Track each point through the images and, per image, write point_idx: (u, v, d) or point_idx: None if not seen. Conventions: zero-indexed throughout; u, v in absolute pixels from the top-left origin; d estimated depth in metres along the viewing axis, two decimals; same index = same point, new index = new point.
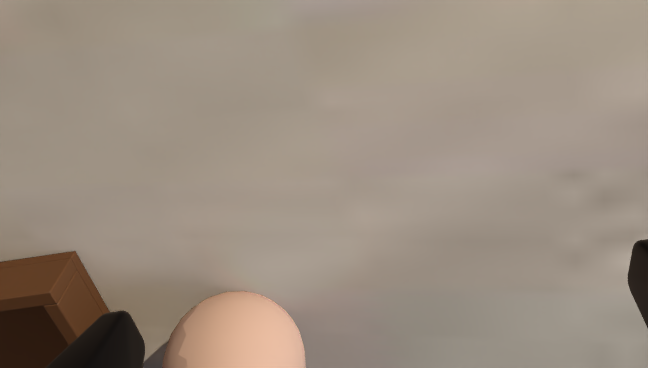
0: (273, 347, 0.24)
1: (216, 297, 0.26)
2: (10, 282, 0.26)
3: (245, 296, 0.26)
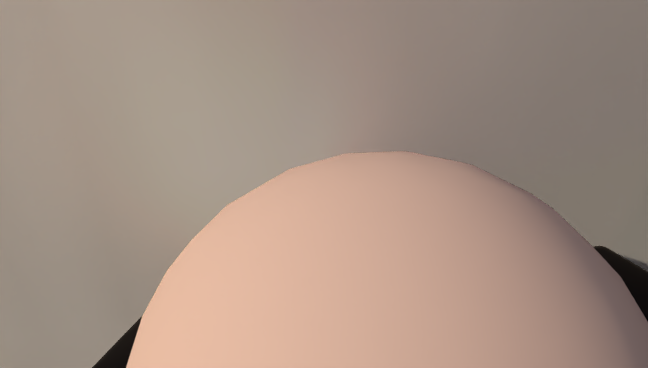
0: None
1: None
2: None
3: None
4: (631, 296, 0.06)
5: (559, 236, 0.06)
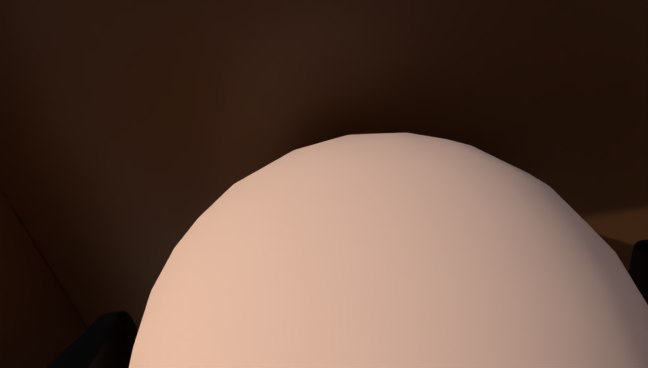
0: (158, 346, 0.05)
1: None
2: None
3: None
4: (625, 269, 0.06)
5: (555, 210, 0.06)
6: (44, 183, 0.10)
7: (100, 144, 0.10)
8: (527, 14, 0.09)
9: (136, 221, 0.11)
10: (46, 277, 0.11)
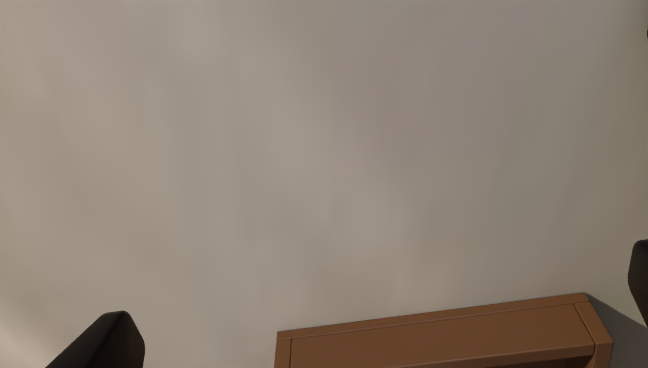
0: None
1: None
2: None
3: None
4: None
5: None
6: None
7: None
8: None
9: None
10: None
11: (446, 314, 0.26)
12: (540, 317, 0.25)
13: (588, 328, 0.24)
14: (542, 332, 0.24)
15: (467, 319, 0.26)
